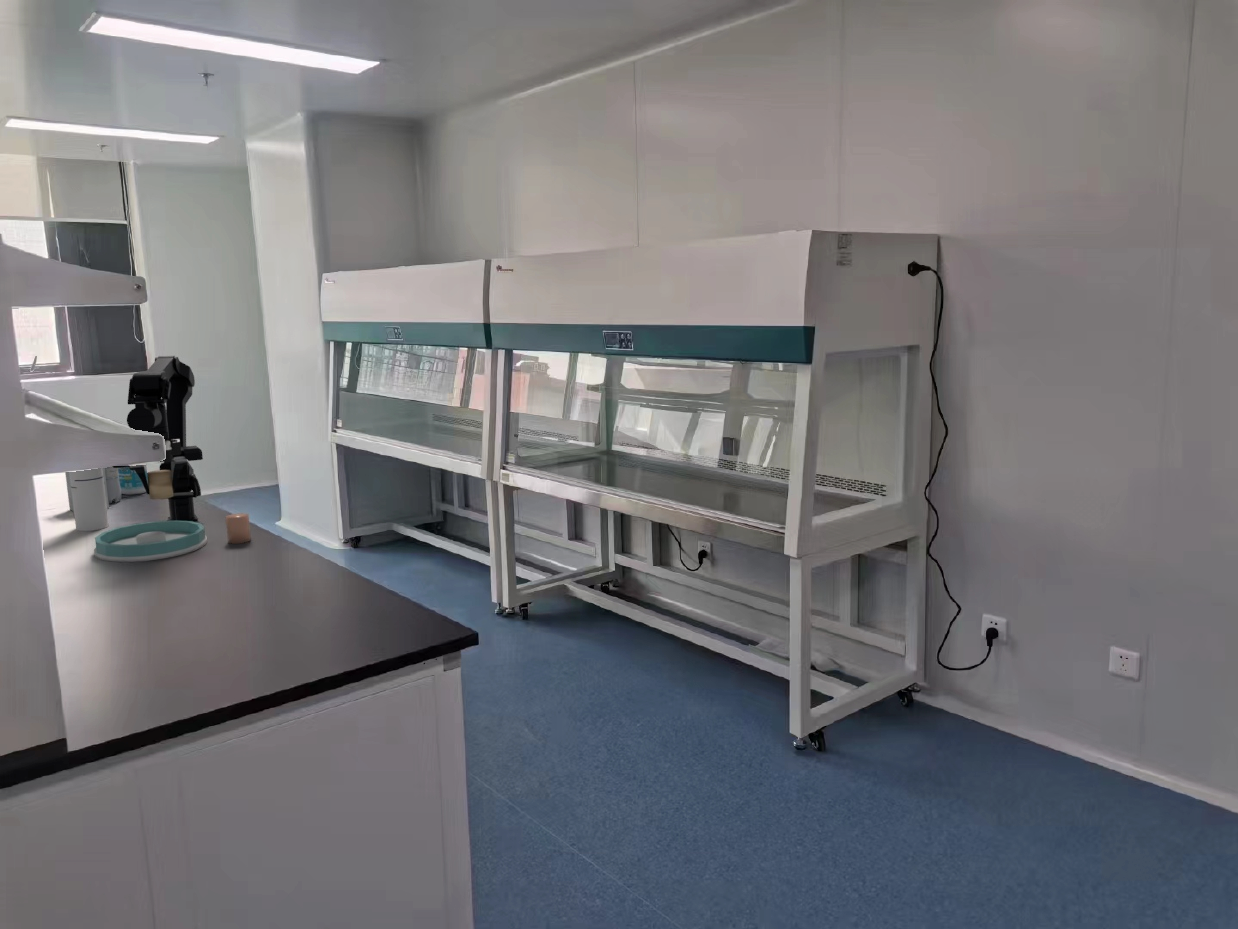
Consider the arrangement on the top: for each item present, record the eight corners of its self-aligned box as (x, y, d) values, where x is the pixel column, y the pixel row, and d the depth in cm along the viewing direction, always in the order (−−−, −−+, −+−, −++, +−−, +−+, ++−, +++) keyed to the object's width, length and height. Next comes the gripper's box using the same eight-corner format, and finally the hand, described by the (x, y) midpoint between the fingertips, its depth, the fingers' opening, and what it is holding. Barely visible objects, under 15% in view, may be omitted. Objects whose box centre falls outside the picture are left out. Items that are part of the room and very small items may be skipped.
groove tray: (92, 543, 211) (91, 528, 210) (200, 529, 223) (198, 515, 222) (96, 568, 192) (94, 552, 191) (213, 551, 204) (212, 536, 203)
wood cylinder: (148, 496, 214) (145, 471, 212) (171, 493, 216) (169, 469, 215) (151, 500, 209) (148, 474, 208) (174, 497, 212) (172, 472, 211)
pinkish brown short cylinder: (226, 539, 213) (224, 515, 212) (249, 536, 216) (247, 512, 215) (229, 544, 209) (226, 519, 208) (252, 541, 211) (249, 516, 210)
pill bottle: (114, 493, 264) (109, 448, 262) (138, 488, 271) (133, 444, 268) (131, 496, 261) (126, 450, 258) (154, 491, 267) (149, 446, 265)
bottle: (111, 505, 250) (102, 433, 246) (90, 504, 251) (81, 433, 247) (128, 499, 256) (120, 429, 253) (108, 498, 258) (99, 429, 254)
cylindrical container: (98, 530, 222) (86, 430, 218) (69, 531, 223) (57, 430, 218) (114, 523, 229) (103, 426, 225) (87, 523, 230) (75, 426, 225)
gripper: (111, 434, 198) (119, 504, 201) (203, 427, 208) (209, 493, 211) (107, 429, 207) (114, 495, 210) (195, 422, 217) (201, 485, 220)
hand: (160, 492), depth 213 cm, fingers closed on wood cylinder, 5 cm apart
